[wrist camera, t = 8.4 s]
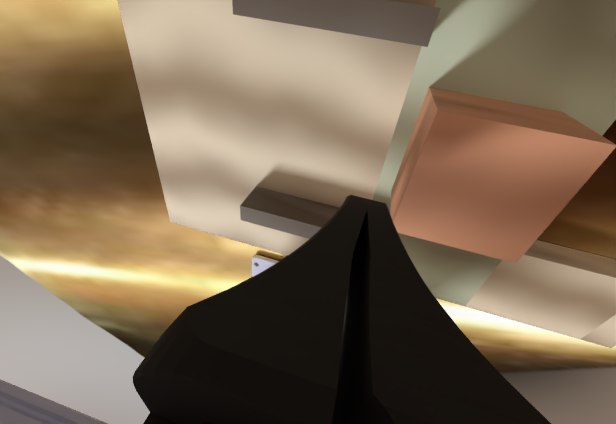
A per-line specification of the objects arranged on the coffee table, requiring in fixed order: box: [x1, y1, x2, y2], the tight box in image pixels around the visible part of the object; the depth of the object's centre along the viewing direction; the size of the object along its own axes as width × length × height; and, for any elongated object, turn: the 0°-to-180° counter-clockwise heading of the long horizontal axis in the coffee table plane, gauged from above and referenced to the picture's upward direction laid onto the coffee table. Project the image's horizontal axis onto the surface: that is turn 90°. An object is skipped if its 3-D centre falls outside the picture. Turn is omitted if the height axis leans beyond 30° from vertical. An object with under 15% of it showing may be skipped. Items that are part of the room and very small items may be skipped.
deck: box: [117, 0, 616, 348], centre depth 15 cm, size 22×35×4 cm, turn 83°
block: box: [390, 87, 616, 263], centre depth 13 cm, size 6×6×4 cm
